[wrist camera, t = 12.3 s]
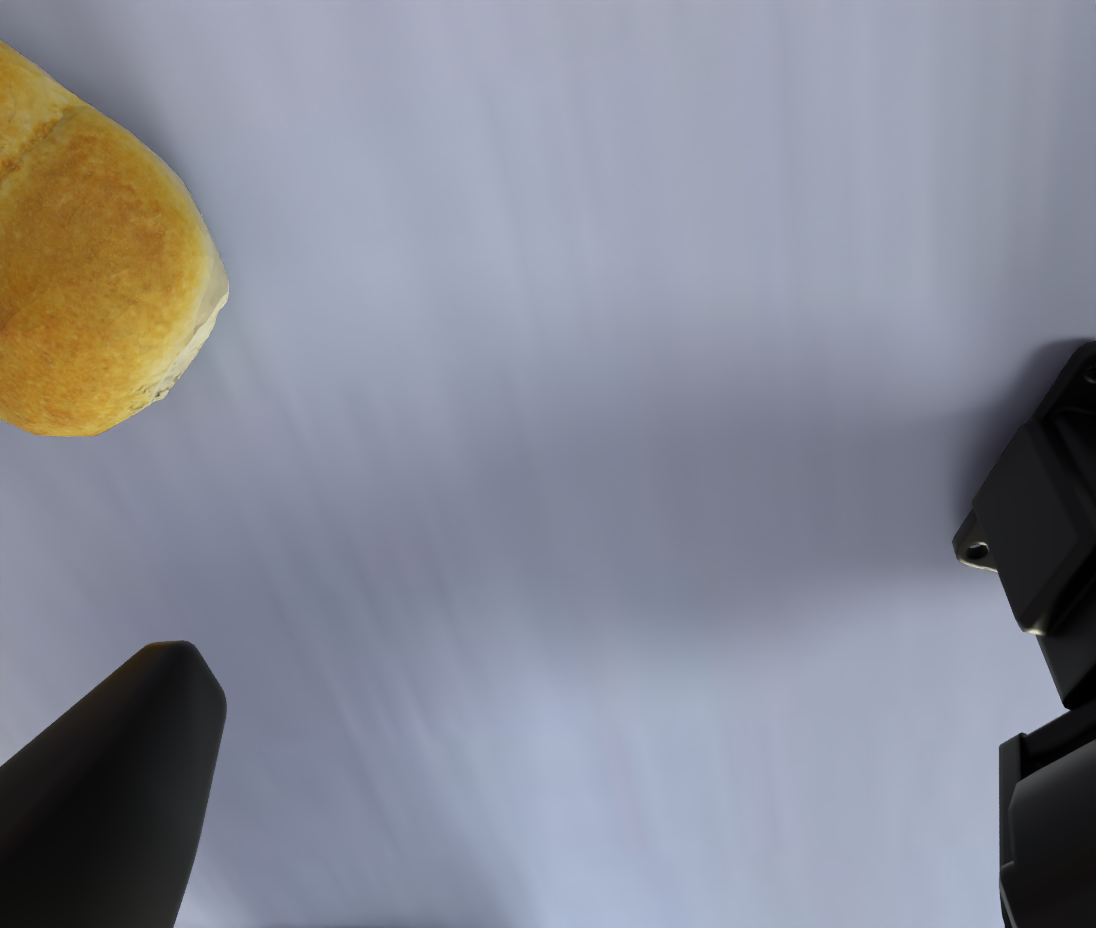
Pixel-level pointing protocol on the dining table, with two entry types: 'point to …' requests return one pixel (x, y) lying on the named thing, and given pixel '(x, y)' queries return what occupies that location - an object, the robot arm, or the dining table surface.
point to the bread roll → (92, 263)
